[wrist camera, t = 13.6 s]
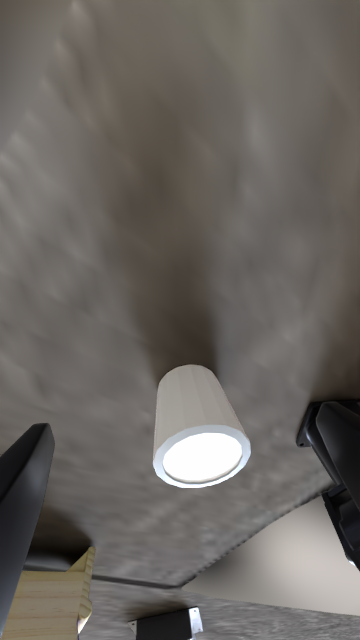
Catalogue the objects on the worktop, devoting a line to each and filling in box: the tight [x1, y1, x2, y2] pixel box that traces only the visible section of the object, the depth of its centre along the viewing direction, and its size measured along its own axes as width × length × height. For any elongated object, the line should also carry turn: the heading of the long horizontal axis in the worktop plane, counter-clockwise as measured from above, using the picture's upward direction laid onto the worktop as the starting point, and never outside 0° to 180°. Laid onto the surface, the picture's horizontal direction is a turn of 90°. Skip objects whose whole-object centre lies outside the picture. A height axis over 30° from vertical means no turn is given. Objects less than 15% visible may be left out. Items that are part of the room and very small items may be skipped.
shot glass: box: [153, 364, 251, 488], centre depth 21 cm, size 7×7×7 cm
